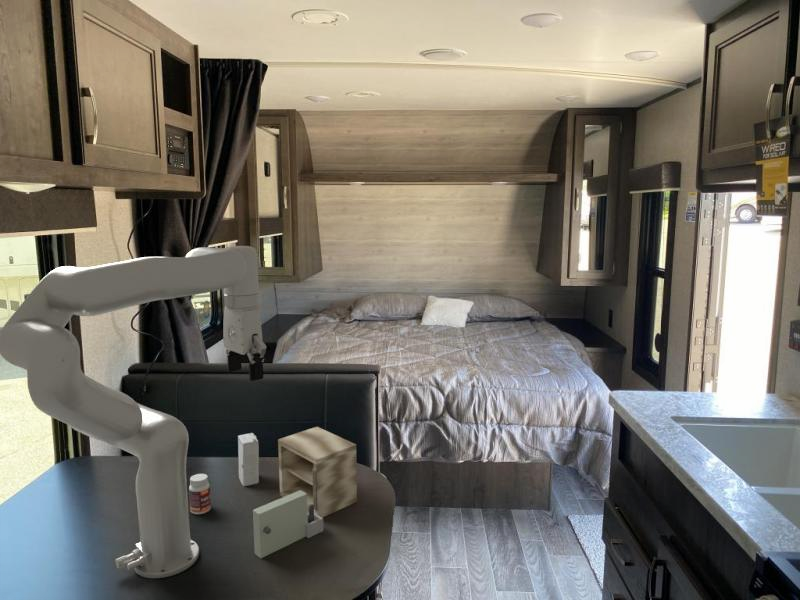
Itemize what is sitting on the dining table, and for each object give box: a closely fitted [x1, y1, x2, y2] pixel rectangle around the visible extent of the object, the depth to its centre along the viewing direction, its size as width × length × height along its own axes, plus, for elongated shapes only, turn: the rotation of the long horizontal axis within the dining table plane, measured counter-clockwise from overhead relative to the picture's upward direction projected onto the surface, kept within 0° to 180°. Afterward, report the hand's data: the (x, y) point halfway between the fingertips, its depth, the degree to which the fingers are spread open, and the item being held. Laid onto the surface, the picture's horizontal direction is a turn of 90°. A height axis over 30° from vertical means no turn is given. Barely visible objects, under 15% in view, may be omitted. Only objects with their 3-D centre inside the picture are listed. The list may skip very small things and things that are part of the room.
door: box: [252, 490, 324, 559], centre depth 125 cm, size 16×4×10 cm, turn 135°
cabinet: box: [277, 426, 358, 523], centre depth 140 cm, size 16×19×15 cm
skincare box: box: [237, 432, 260, 487], centre depth 152 cm, size 6×4×12 cm
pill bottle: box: [188, 473, 212, 515], centre depth 138 cm, size 5×5×8 cm
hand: (245, 374), depth 131 cm, fingers open, 9 cm apart
